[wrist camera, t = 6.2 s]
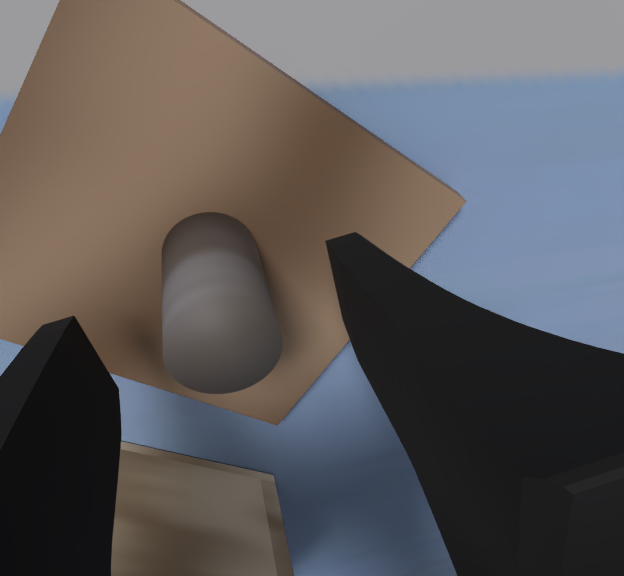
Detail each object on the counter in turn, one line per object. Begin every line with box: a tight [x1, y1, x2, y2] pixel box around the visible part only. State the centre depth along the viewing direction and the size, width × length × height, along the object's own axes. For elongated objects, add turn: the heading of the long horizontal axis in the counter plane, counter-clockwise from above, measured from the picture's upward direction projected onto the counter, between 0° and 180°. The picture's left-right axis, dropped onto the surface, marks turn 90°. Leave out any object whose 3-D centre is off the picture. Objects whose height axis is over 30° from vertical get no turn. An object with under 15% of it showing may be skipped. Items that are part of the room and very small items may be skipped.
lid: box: [0, 0, 466, 425], centre depth 12 cm, size 10×9×5 cm
